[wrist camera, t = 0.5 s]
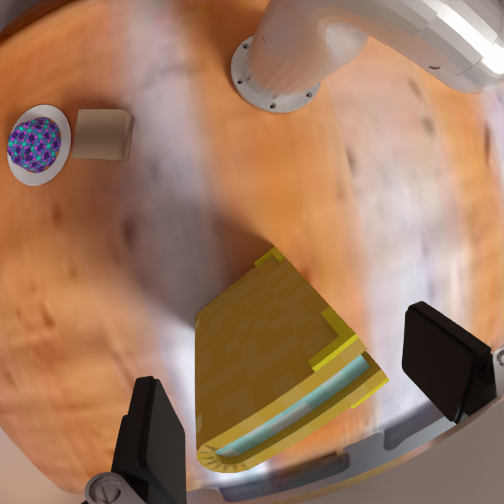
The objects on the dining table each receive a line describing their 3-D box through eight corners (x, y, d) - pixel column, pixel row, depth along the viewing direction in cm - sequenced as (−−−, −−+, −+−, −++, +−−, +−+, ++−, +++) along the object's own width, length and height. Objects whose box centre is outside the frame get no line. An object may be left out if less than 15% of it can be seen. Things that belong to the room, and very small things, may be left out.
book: (274, 245, 44) (355, 333, 20) (301, 279, 46) (389, 380, 22) (185, 318, 44) (178, 452, 21) (215, 346, 46) (232, 480, 23)
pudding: (83, 110, 35) (68, 104, 30) (61, 192, 37) (45, 196, 32) (21, 102, 32) (4, 96, 27) (3, 177, 34) (-16, 180, 29)
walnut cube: (94, 116, 35) (78, 109, 29) (134, 117, 36) (124, 109, 30) (88, 159, 36) (71, 158, 31) (128, 161, 38) (116, 159, 32)
